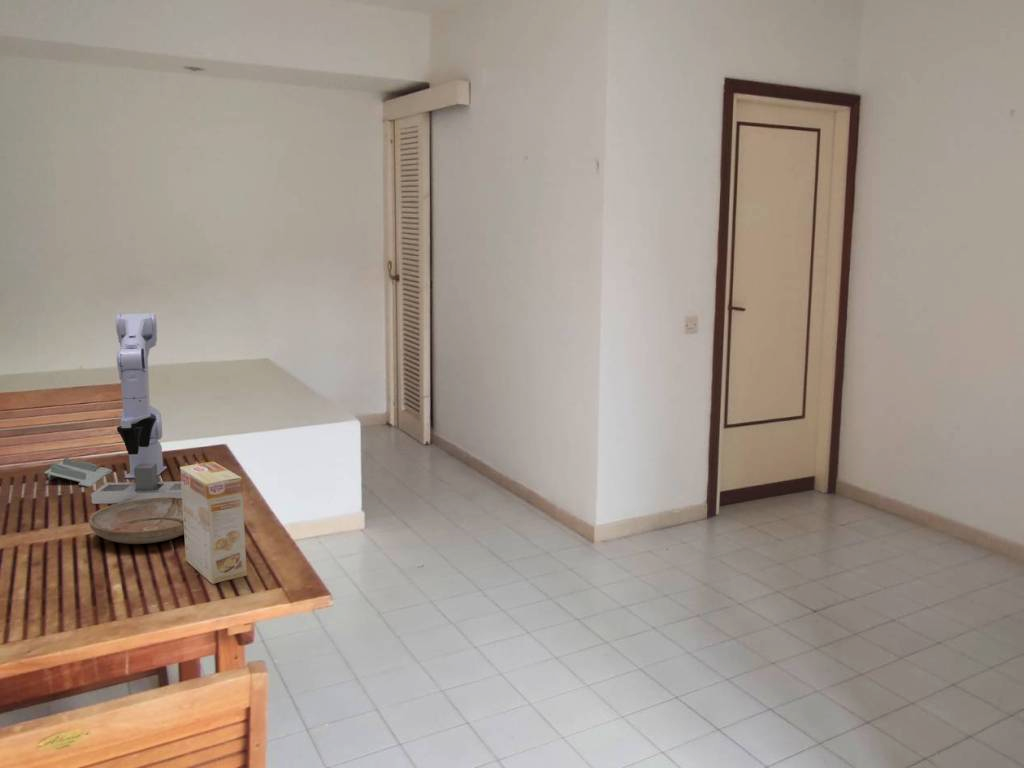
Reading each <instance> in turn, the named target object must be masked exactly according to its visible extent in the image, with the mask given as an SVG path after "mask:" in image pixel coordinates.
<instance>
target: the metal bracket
mask: <svg viewBox="0 0 1024 768" xmlns="http://www.w3.org/2000/svg"><path fill="white" fill-rule="evenodd" d="M112 472H113V470H112V469H111V468H107V467H102V466H101V467H99V468H98V466H97V464H95V463H90V462H87V461H81V460H79V461H78V460H76V461H73V460H72V459H71V458H69V457H65V458H63V460H62V461H60V462H59V463H56V462H50V468H49V469H48V470H45V471H44V474H46V475H47V477H46V478H48V482H51V481H52V480H54V479H56V477H58V478H61V479H66V480H70V481H73V482H78V486H83V487H87V488H91V487H93V486H94V485H95V484H96V483H97V482H99V481H100V480H101V479H102V478H104V477H105V476H106V475H110V473H112ZM50 480H51V481H50Z"/></svg>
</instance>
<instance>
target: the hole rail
mask: <svg viewBox="0 0 1024 768" xmlns="http://www.w3.org/2000/svg"><path fill="white" fill-rule="evenodd" d="M159 497H175V498H182V492H181V480H180V481H158V490H153V491H136V488H135V481H133V482H131V481H127V482H105V483H104V484H102V485H101V486H100V487H98V488H97V489H96V490H94V491H93V492H92V493H90V498H91V504H92V505H95V504H96V505H98V504H99V505H100V504H101V505H102V504H107V505H109V504H110V505H112V504H118V503H123V502H127V501H133V500H139V499H147V498H159Z"/></svg>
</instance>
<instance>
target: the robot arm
mask: <svg viewBox="0 0 1024 768" xmlns="http://www.w3.org/2000/svg"><path fill="white" fill-rule="evenodd" d="M115 330H116V334H117V337H118V338H117V340H118V343H119V346H120V351H117V352H116V367H117V371H118V375H119V380H120V386H121V387H120V389H121V398H122V399H121V400H122V401H121V402H122V413H120V414H118V418H119V419H121V420H120V425H119V426H117V427H116V432H118V434H119V435H120V437H121V440H122V441H123V443H124V446H125V448H126V452H127V454H128V459H129V471H130V472H129V473H127V474H126V475H125V476H124V478H125V479H135V475H134V468H135V467H136V466H138V465H139V464H157V476H159V475H160V474H161V473H163V472H164V471H165V470H166V469H167V468H168V467H167V466H164V464H163V463H164V461H163V459H164V458H163V447H162V444H161V443H160V441H159V440H161V439H162V438H163V422H162V414H161V412H160V410H159V409H157V408H156V407H154V406H152V405H150V385H149V383H150V382H149V354H150V349H152V348H153V347H156V346H157V340H158V338H157V336H158V335H157V333H158V326H157V317H156V314H155V313H154V312H151V313H149V312H148V313H124V314H123V313H122V314H121V313H118V314H116V315H115Z"/></svg>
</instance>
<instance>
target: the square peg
mask: <svg viewBox="0 0 1024 768" xmlns="http://www.w3.org/2000/svg"><path fill="white" fill-rule="evenodd" d="M134 475H135V478H134V482H135V488H136V491H153V490H158V482H159V479H158V478H159V477H158V476H159V475H158V476H157V464H139V465H138V466H136V467H135V468H134Z"/></svg>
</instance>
